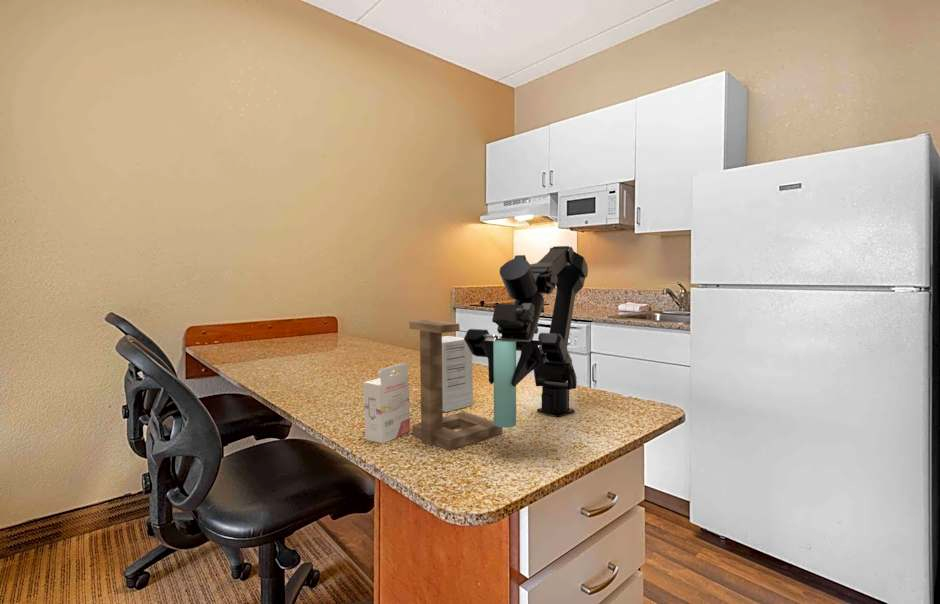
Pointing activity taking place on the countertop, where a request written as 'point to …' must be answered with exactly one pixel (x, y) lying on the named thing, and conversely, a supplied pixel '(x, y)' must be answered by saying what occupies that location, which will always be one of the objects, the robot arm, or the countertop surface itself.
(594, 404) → the countertop surface
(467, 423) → the socket stand
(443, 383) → the supplement box
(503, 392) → the peg
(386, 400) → the ink cartridge box
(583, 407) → the countertop surface
